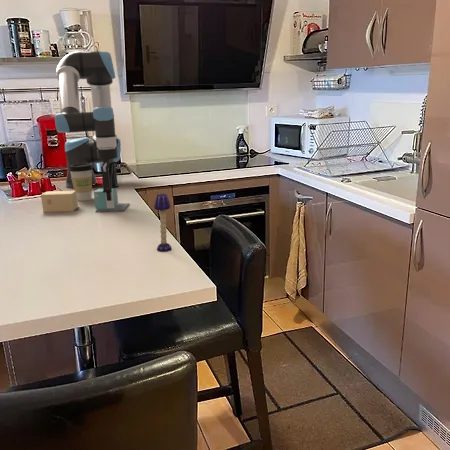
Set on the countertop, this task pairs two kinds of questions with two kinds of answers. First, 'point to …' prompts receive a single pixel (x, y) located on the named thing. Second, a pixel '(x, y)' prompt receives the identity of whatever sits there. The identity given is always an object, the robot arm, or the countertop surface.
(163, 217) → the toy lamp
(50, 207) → the tan cardboard box
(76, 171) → the coffee cup
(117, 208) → the pad
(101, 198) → the teal cube
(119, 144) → the robot arm
